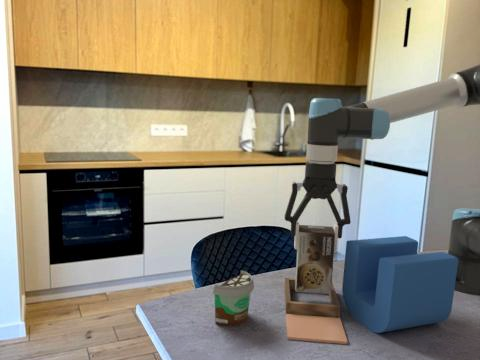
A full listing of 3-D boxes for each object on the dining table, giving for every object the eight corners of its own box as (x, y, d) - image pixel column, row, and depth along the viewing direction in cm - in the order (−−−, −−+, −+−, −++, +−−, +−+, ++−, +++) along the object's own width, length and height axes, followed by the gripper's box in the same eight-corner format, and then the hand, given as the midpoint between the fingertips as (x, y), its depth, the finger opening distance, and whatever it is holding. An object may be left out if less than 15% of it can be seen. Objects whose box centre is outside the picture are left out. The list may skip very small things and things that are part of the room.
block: (340, 307, 118) (346, 239, 115) (396, 299, 124) (404, 235, 121) (386, 342, 101) (395, 265, 98) (448, 331, 108) (458, 258, 105)
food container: (234, 334, 101) (236, 292, 100) (211, 326, 104) (213, 285, 103) (261, 314, 112) (264, 275, 110) (240, 307, 115) (242, 269, 113)
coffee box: (328, 284, 122) (333, 226, 119) (331, 295, 116) (336, 233, 113) (294, 282, 123) (298, 223, 120) (294, 292, 116) (299, 230, 113)
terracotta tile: (340, 320, 110) (340, 318, 110) (347, 344, 100) (347, 341, 100) (285, 316, 111) (286, 313, 111) (287, 339, 100) (287, 336, 100)
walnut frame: (331, 291, 127) (332, 281, 127) (339, 318, 111) (340, 306, 111) (284, 287, 128) (284, 277, 127) (285, 314, 112) (286, 302, 112)
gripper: (362, 161, 116) (355, 246, 120) (276, 157, 118) (272, 241, 122) (368, 165, 109) (360, 256, 113) (277, 161, 110) (272, 251, 114)
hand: (315, 248), depth 117 cm, fingers closed on coffee box, 9 cm apart
